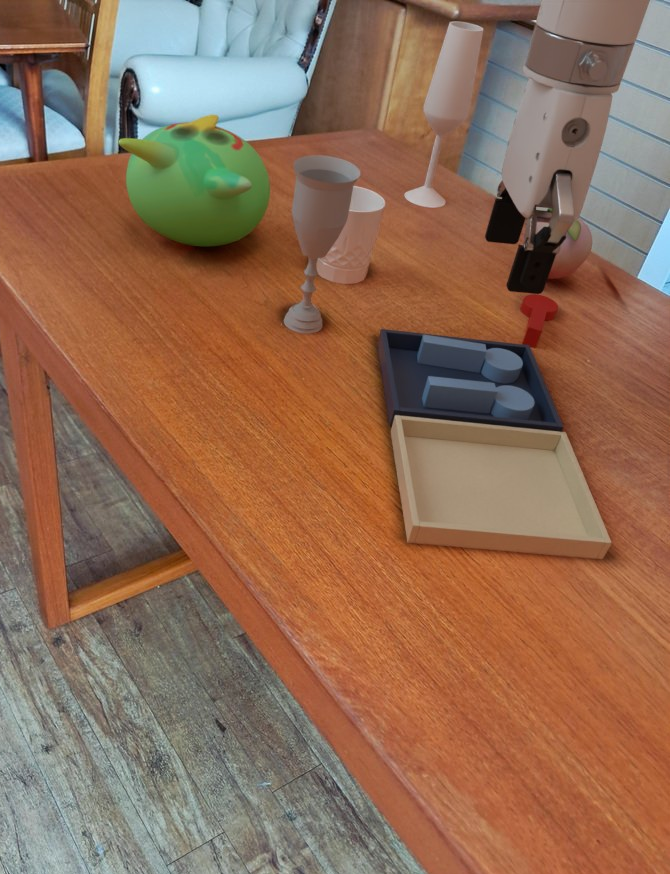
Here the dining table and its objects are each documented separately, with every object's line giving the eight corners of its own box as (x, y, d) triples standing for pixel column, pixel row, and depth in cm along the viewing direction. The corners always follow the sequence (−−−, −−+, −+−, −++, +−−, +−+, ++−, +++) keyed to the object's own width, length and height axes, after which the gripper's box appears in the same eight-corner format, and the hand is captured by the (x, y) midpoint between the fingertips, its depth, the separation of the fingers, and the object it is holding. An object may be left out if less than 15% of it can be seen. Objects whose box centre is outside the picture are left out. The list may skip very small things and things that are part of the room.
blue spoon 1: (515, 364, 90) (523, 343, 88) (520, 386, 87) (528, 365, 85) (416, 349, 90) (422, 327, 88) (417, 370, 86) (423, 348, 84)
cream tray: (557, 451, 80) (565, 432, 78) (600, 562, 68) (612, 542, 67) (389, 434, 78) (394, 414, 76) (406, 546, 67) (412, 525, 65)
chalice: (320, 349, 88) (348, 189, 76) (263, 332, 89) (282, 171, 77) (340, 320, 93) (369, 166, 81) (286, 304, 94) (307, 149, 82)
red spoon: (521, 303, 102) (528, 283, 100) (555, 312, 102) (562, 293, 100) (509, 344, 94) (516, 323, 92) (545, 354, 93) (554, 334, 91)
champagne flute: (396, 197, 123) (433, 22, 107) (416, 186, 128) (455, 17, 112) (434, 211, 121) (478, 35, 105) (453, 200, 125) (498, 29, 109)
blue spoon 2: (524, 401, 85) (532, 379, 83) (533, 426, 81) (542, 404, 79) (420, 390, 84) (426, 368, 82) (425, 415, 80) (432, 392, 78)
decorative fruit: (588, 294, 107) (618, 222, 100) (536, 296, 104) (563, 223, 98) (553, 261, 113) (579, 192, 106) (503, 262, 111) (526, 191, 104)
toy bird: (274, 227, 110) (287, 115, 100) (247, 282, 97) (259, 160, 87) (148, 202, 110) (149, 88, 100) (106, 253, 98) (102, 129, 88)
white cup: (360, 295, 98) (376, 217, 92) (301, 278, 100) (312, 200, 93) (376, 269, 104) (392, 194, 97) (319, 254, 105) (331, 179, 98)
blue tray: (522, 363, 91) (529, 345, 90) (555, 446, 80) (563, 426, 78) (376, 347, 90) (380, 328, 88) (388, 430, 79) (394, 409, 77)
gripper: (662, 99, 55) (576, 317, 67) (590, 36, 68) (529, 229, 79) (558, 87, 54) (490, 309, 66) (505, 26, 67) (456, 221, 79)
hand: (511, 265), depth 73 cm, fingers open, 9 cm apart
